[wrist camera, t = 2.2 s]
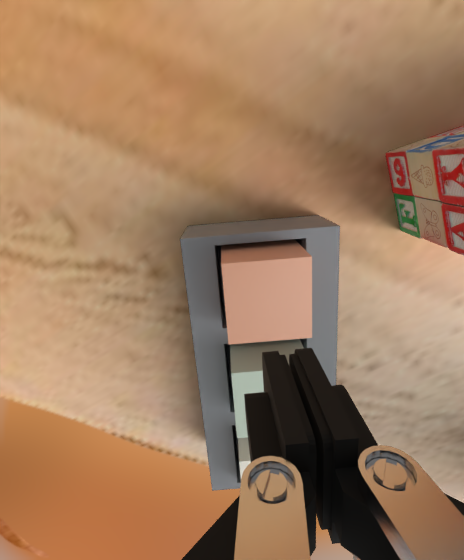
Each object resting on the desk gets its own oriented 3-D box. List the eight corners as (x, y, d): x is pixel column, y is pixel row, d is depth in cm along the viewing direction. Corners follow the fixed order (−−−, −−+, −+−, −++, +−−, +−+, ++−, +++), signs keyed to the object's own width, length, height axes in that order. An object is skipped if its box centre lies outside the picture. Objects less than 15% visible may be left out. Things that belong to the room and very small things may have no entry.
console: (318, 215, 26) (339, 225, 21) (317, 434, 32) (333, 480, 28) (187, 225, 26) (180, 238, 21) (213, 443, 32) (212, 490, 28)
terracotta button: (293, 238, 23) (311, 256, 19) (295, 305, 25) (312, 337, 20) (221, 244, 23) (221, 264, 19) (227, 310, 25) (228, 344, 20)
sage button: (295, 329, 26) (312, 366, 21) (296, 385, 27) (312, 432, 22) (229, 335, 26) (231, 373, 21) (234, 390, 27) (236, 438, 22)
